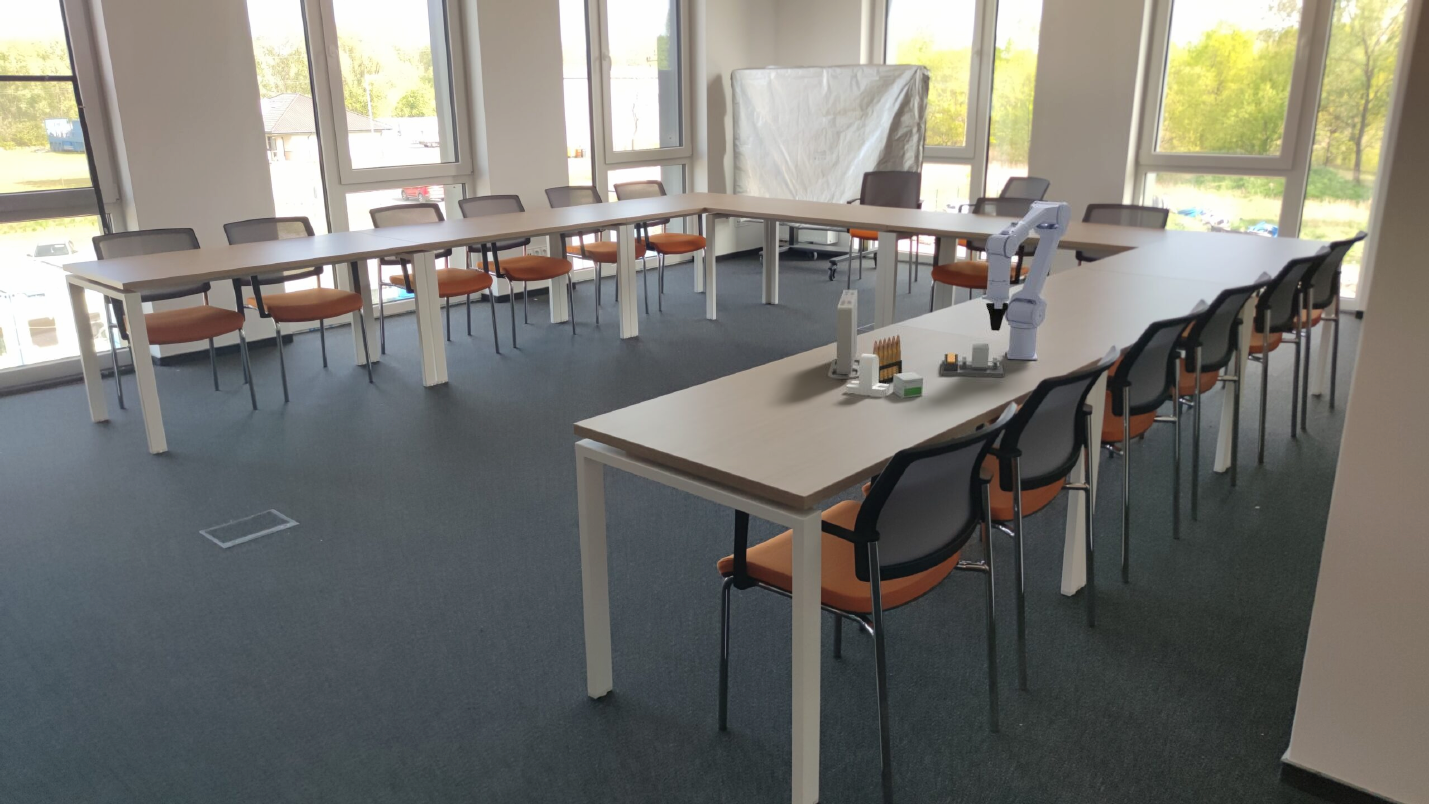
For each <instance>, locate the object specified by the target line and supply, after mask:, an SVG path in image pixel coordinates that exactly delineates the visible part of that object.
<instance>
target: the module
mask: <svg viewBox="0 0 1429 804" xmlns="http://www.w3.org/2000/svg"><path fill="white" fill-rule="evenodd" d="M989 348H990V346H989V341H976V340H975V341H974V340H973V341H972V348H971V349H972V350H971V351H972V352H971V361H972V369H982V370H988V361H989V355H990V354H989V352H990V351H989V350H990V349H989Z"/></svg>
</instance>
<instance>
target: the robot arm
mask: <svg viewBox="0 0 1429 804" xmlns="http://www.w3.org/2000/svg"><path fill="white" fill-rule="evenodd" d="M1071 219H1072V210H1071V206H1070V204H1069V203H1068V202H1065V201H1063V202H1057V201H1054V202H1053V201H1040V200H1035V201H1034V202H1032V203H1031V204H1030V206H1029V209H1028V212H1027V214H1026V215H1024V216H1023V218H1022V219H1021V220H1012V221H1011V222H1010V224H1009V225H1007V226H1006V227H1005V228H1004V229H1002V230H1001V231H1000V232H998V234H996V233H994V234H992V235H990V236H989V237H988V238H987V240H986V243H985V245H984V249H985V253H986V261H987V263H988V266H987V267H988V271H987V284H986V286H987V287H986V295H984V294H983V295H981V299H982V300H986V301H988V302H986V303H985V305H986V309H987V311H988V315H989V322H990V329H991V331H994V332H995V331H998V332H999V331H1000V329H1001V327H1002V323H1003V320H1004V318H1005V321H1006V322H1007V325H1008V326H1010V328H1009V340H1008V341H1009V343H1008V348H1007V349H1005V352H1006V356H1007V360H1025V361H1026V360H1030V361H1031V360H1032V361H1038V356H1037V352H1036V350H1037V349H1036V345H1037V334H1038V333H1037V332H1038V327H1041V325H1042V323H1044V321H1045V317H1046V310H1047V306H1048V305H1047V304H1048V303H1047V301H1046V299H1045V298H1044V297H1043V296H1042V294H1041V293H1042V291H1043V289H1044V285H1045V283H1046V280H1047V277H1048V275H1049V271H1050V269H1051V266H1052V263H1053V260H1054V258H1055V255H1056V251H1057V249H1058V245H1059V243H1060V240H1061V237H1063V236H1065V235H1066V233H1067V230H1068V227H1069V224H1070V221H1071ZM1032 230H1033V231H1034V233H1035V234H1036V235H1038V236H1039V241H1038V244H1037V247H1036V249H1035V252H1034V255H1033V258H1032V261H1031V264H1030V266H1029V268H1028V269H1029V270H1028V273H1027V274H1026V276H1025V277H1026V278H1025V280H1024V283H1023V286H1022V288H1021V289H1020V290H1018V291H1017V292H1014V293H1013V294H1011V297H1010V283H1011V271H1012V270H1011V269H1012V259H1013V257H1014V256H1015V255H1016V253H1017V250H1018V248H1019V247H1020V244H1022V243H1023V242H1024V241H1025V240H1026V239H1028V238H1029V234H1030V231H1032Z"/></svg>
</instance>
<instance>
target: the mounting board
mask: <svg viewBox="0 0 1429 804" xmlns="http://www.w3.org/2000/svg"><path fill="white" fill-rule="evenodd" d="M961 361H962V359H958V371H944V359H941V369H940V371H941V372H940V376H958V377H959V376H960V377H985V376H986V377H985V378H987V377H988V378H990V377H992V378H1004V375H1005V374H1004V369H1003V363H1002V361H998V362H999V369H997V370H993V369H988V370H982V369H972V368H966V369H962V368H960V362H961ZM988 362H993V360H992V361H989V360H988ZM946 363H947V361H946ZM955 363H956V362H955Z"/></svg>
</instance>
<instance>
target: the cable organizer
mask: <svg viewBox="0 0 1429 804" xmlns="http://www.w3.org/2000/svg"><path fill="white" fill-rule="evenodd" d="M859 359H860V362H858V363H859V364H858V365H859V378H858V380H851V382H850V384H847V385H846V392H847V393H846V394H850V393H855V394H854V395H859V394H860V396H861V395H862V396H867V395H870V397H876V396H877V397H878V398H884V397H885V396H886V394H889V393H890V384H889V383H886V384H882V383H879V358H878V355H873V353H872V354H870V353H862V354H861V356H860V358H859ZM877 397H876V398H877Z"/></svg>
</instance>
